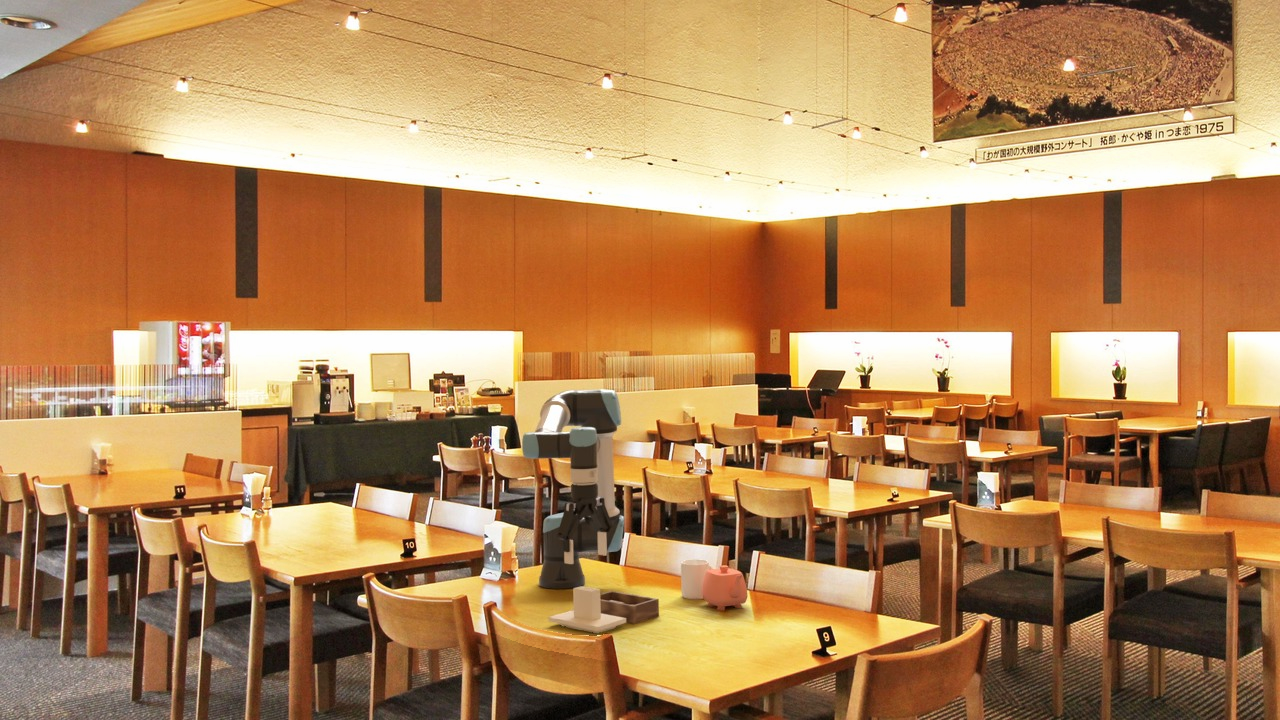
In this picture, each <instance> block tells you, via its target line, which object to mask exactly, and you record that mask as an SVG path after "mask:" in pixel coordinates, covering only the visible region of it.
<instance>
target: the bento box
mask: <svg viewBox="0 0 1280 720" xmlns="http://www.w3.org/2000/svg"><path fill="white" fill-rule="evenodd" d="M659 602H660V600H659V598H655V597H650V596H643V595H638V594H631V593H627V592H625V593H624V592H620V591H616V590H615V591H614V590H610V591H607V592H603V593H600V603H601V613H602V614H607V615H612V616H617V617H623V618H626V623H625V624H631V625H636V624H638V623H639V624H640V623H643V622H645V621H650V620H652V619H655V618H658V617H660V609H659V608H660V603H659Z"/></svg>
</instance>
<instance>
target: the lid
mask: <svg viewBox="0 0 1280 720" xmlns="http://www.w3.org/2000/svg"><path fill="white" fill-rule="evenodd" d="M572 591H573V593H572V594H573V595H572V596H573V598H572V599H573V600H572V601H573V609H572V610H569V611H566V612H562V613H557V614H554V615H552V616H548V622H550V623H556V624H559V626H560V625H563V626H562V627H564V626H566V627H565V628H570V629H574V630H579V631H583V630H584V632H589V633H592V632H593V633H594V634H600V633H599V632H601V633H603V631H604V632H606V631H610V630H613V629H616V626H621V625H622V624H623V625H624V624H627V623H626V618H623V617H617V616H612V615H607V614H602V613H601V603H600V594H601V589H600V588H595V587H589V586H588V587H587V586H584V585H582V586H579V587H574V588H572Z"/></svg>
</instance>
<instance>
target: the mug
mask: <svg viewBox="0 0 1280 720" xmlns="http://www.w3.org/2000/svg"><path fill="white" fill-rule="evenodd" d="M709 569H714V568H713V567H712V565H710V562H709V560H706V559H699V558H698V559H697V558H695V559H685V560H681V562H680V575H681V576H680V577H681V578H680V579H681V581H680V582H681V583H680V585H681V588H680V589H681V596H682V598H684V599H686V600H687V599H688V600H702V599H704V598H703V596H702V586H703V581H704V577H705V574H706V571H707V570H709Z"/></svg>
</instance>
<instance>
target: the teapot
mask: <svg viewBox="0 0 1280 720" xmlns="http://www.w3.org/2000/svg"><path fill="white" fill-rule="evenodd" d="M702 596H703V598H704V601H705V602H706V603H707V607H715V606H717V608H716V610H717V611H719V612H721V611H725V610H726V607H731V606H733V607H734V608H736V609H743V606H742V604H745V603H746V602H747V600H748V589H747V585H746V580H745V577H744V574H743V572H742V571H740V570H737V569H733V568H730V567H729V566H728V565H726V564H725V565H723V564H722V565H720V566H719V567H718V568H713V569H709V570H707V571H706V574H705V577H704V581H703V586H702Z"/></svg>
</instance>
